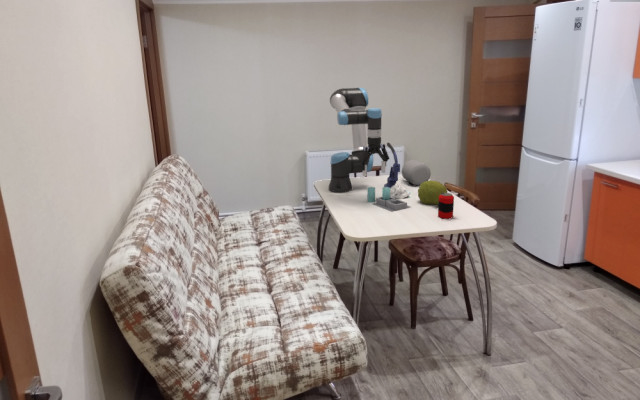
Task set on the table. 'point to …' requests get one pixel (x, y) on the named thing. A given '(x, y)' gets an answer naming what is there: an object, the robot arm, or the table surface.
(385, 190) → the jaw pin
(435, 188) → the fruit
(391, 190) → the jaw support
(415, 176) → the grey rounded lump
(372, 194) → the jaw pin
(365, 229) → the table surface
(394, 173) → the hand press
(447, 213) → the soda can
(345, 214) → the table surface
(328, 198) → the table surface
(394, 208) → the housing
